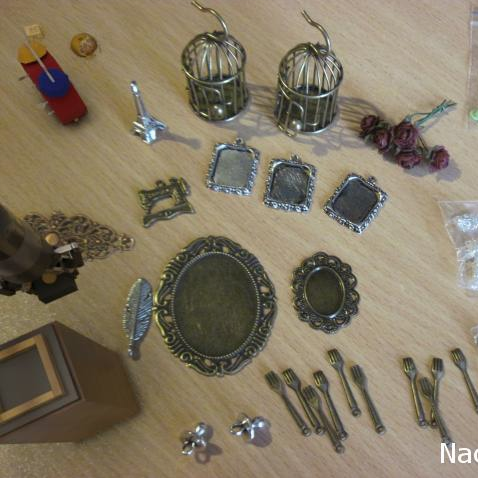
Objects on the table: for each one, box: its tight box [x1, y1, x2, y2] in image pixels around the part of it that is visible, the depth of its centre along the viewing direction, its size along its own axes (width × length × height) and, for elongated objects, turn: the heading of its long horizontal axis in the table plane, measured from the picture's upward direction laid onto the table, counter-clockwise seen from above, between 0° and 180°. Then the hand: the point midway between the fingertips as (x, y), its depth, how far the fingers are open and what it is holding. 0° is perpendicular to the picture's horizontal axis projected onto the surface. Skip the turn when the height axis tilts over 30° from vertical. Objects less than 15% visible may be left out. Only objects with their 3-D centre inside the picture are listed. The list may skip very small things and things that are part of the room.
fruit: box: [70, 32, 103, 67], centre depth 129 cm, size 8×8×4 cm
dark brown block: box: [32, 273, 79, 305], centre depth 89 cm, size 5×5×4 cm
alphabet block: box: [23, 23, 45, 42], centre depth 129 cm, size 3×3×3 cm
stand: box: [0, 319, 141, 446], centre depth 88 cm, size 12×12×36 cm
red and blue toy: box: [17, 39, 89, 126], centre depth 115 cm, size 15×9×20 cm, turn 38°
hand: (55, 281), depth 90 cm, fingers closed on dark brown block, 5 cm apart
